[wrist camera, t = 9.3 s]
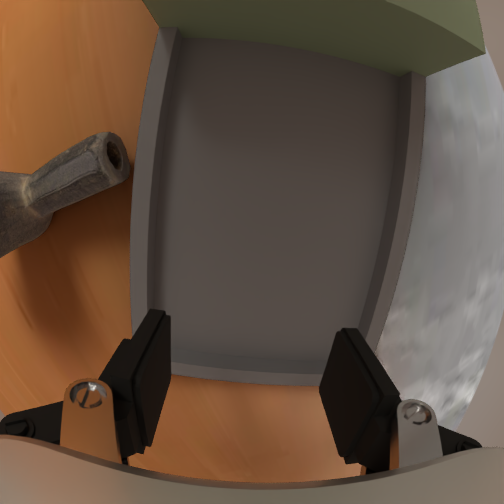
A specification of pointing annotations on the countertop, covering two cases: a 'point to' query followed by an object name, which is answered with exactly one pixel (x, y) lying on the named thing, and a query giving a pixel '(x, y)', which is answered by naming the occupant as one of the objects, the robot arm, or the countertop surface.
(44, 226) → the pipe
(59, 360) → the countertop surface
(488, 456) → the robot arm
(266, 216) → the gray tray
